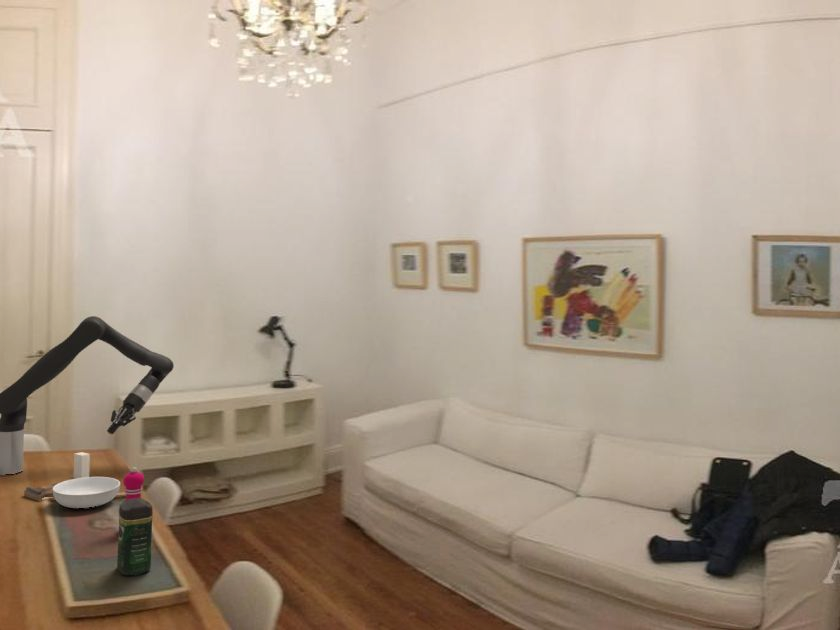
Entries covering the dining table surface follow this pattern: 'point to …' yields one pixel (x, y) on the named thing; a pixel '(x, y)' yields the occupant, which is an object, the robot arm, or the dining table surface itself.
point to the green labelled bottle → (134, 536)
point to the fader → (81, 465)
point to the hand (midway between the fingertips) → (109, 432)
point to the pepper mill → (133, 484)
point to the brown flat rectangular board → (40, 492)
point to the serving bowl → (86, 491)
